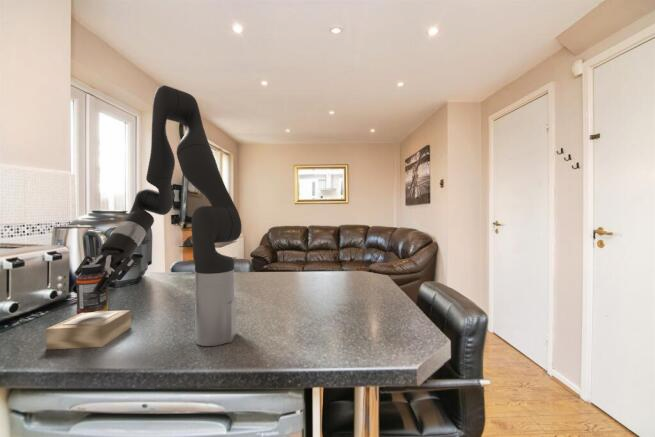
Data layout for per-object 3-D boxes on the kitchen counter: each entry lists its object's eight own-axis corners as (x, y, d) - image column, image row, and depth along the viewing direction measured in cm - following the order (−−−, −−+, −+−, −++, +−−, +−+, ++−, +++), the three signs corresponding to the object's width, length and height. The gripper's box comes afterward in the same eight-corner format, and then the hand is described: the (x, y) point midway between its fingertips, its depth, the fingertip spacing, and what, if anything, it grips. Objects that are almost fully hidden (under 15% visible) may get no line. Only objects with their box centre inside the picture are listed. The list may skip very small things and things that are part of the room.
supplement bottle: (83, 307, 76) (82, 264, 76) (110, 304, 78) (109, 262, 78) (72, 315, 71) (71, 268, 70) (102, 312, 73) (101, 266, 72)
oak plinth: (130, 327, 81) (130, 309, 81) (102, 346, 69) (102, 325, 69) (83, 329, 80) (83, 311, 79) (46, 349, 68) (46, 327, 68)
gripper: (94, 231, 82) (49, 283, 71) (139, 232, 80) (100, 285, 69) (111, 248, 88) (71, 298, 76) (154, 249, 86) (120, 301, 74)
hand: (85, 292), depth 73 cm, fingers closed on supplement bottle, 6 cm apart
